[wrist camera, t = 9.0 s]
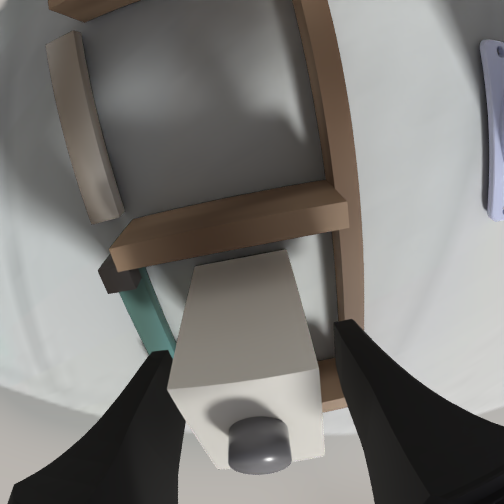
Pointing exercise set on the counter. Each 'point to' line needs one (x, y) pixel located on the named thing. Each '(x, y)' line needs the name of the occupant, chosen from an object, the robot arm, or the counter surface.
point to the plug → (248, 366)
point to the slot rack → (223, 210)
